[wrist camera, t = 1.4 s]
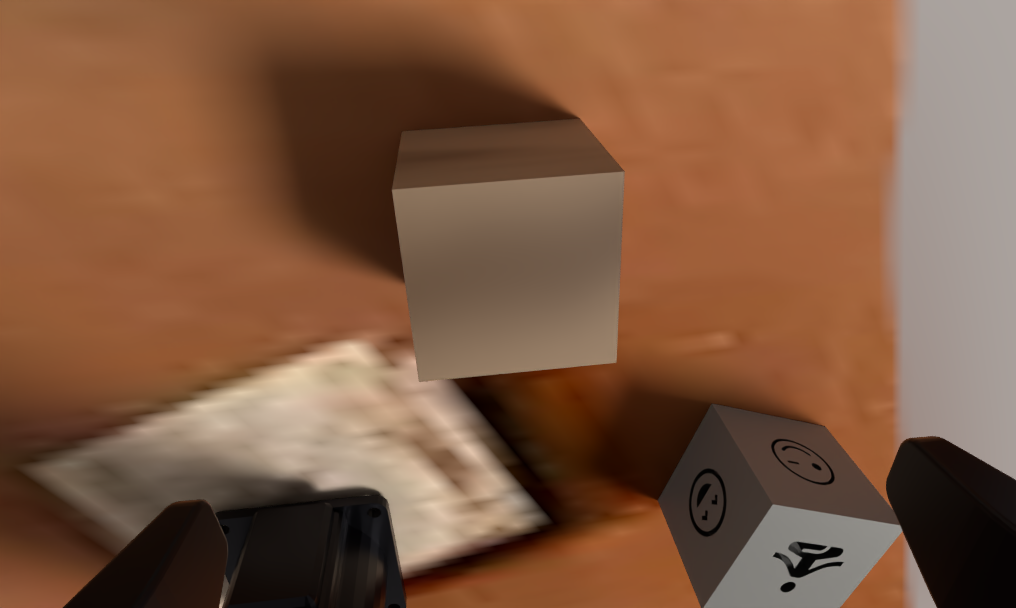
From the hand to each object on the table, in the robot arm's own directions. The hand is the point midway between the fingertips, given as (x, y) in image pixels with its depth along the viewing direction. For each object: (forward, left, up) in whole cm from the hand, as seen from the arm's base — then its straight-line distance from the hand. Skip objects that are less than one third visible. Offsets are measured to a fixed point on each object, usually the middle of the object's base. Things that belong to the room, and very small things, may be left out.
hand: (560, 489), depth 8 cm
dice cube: (-12, -9, -12) cm, 20 cm away
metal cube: (-1, 0, -12) cm, 12 cm away
